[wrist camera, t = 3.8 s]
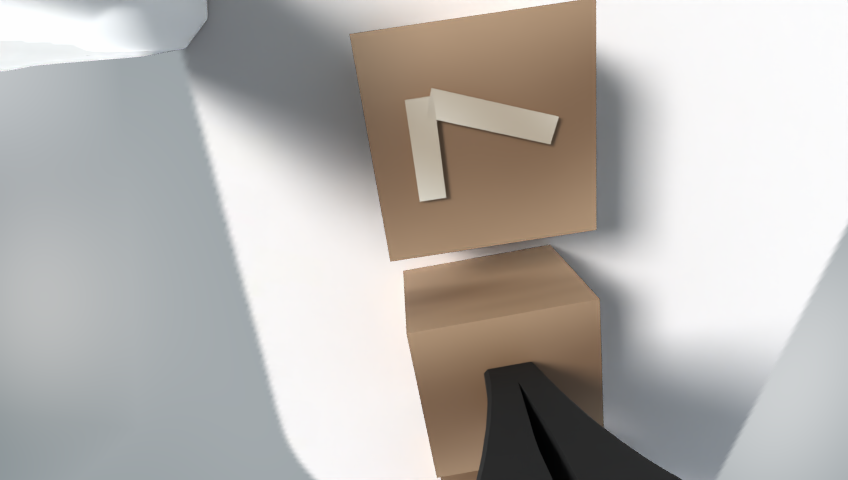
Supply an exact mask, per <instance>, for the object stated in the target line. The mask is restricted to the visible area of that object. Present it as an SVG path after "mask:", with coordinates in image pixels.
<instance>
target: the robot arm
mask: <svg viewBox="0 0 848 480" xmlns="http://www.w3.org/2000/svg"><path fill="white" fill-rule="evenodd" d="M484 379H485V386H486V393H487V419H486V430H485V437H484V444H483V451H482V456H481V461H480V466H479V471H478V475H477V479H476V480H682V479H680V478H678V477H677V476H675V475H673V474H671V473H670V472H668V471H666V470H664V469H663V468H661V467H659V466H658V465H656V464H654V463H653V462H651V461H650V460H648V459H647V458H645V457H643V456H642V455H641V454H639V453H638V452H636V451H635V450H633V449H632V448H630V447H629V446H627V445H626V444H625V443H623V442H622V441H620V440H619V439H618V438H616V437H615V436H614V435H612V434H611V433H610V432H609V431H607V430H606V429H605V428H603V427H602V426H601V425H600V424H598V423H597V422H596V421H595V420H593V419H592V418H591V417H590V416H589V415H587V414H586V413H585V412H584V411H583V410H582V409H581V408H579V407H578V406H577V405H576V404H575V403H574V402H573V401H572V400H570V399H569V398H568V397H567V396H566V395H565V394H564V393H563V392H562V391H561V390H560V389H559V388H558V387H557V386H556V385H555V384H554V383H553V382H552V381H551V380H550V379H549V378H548V377H547V376H546V375H545V374H544V373H543V372H542V371H541V370H540V369H539V368H538V367H537V366H536V365H535V364H534V363H533V362H526V363H521V364H515V365H509V366H504V367H498V368H492V369H487V370H486V372H485V373H484Z"/></svg>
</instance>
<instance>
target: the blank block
mask: <svg viewBox="0 0 848 480" xmlns="http://www.w3.org/2000/svg"><path fill="white" fill-rule="evenodd" d="M403 274H404V293H405V312H406V330H407V338H408V342H409V347H410V352H411V357H412V361H413V366H414V371H415V376H416V380H417V385H418V390H419V395H420V399H421V404H422V409H423V414H424V418H425V423H426V428H427V433H428V437H429V442H430V447H431V452H432V456H433V461H434V466H435V471H436V475H437V478H438V477H444V476H450V475H455V474H461V473H466V472H472V471H477V470H479V466H480V461H481V456H482V451H483V444H484V437H485V430H486V419H487V393H486V386H485V379H484V373H485V372H486V370H487V369H492V368H498V367H504V366H509V365H515V364H521V363H526V362H533V363H534V364H535V365H536V366H537V367H538V368H539V369H540V370H541V371H542V372H543V373H544V374H545V375H546V376H547V377H548V378H549V379H550V380H551V381H552V382H553V383H554V384H555V385H556V386H557V387H558V388H559V389H560V390H561V391H562V392H563V393H564V394H565V395H566V396H567V397H568V398H569V399H570V400H572V401H573V402H574V403H575V404H576V405H577V406H578V407H579V408H581V409H582V410H583V411H584V412H585V413H586V414H587V415H589V416H590V417H591V418H592V419H593V420H595V421H596V422H597V423H598V424H600V425H601V426H602V427H603V428H604V425H603V392H602V358H601V325H600V299H599V298H598V297H597V296H596V294H595V293H594V292H593V291H592V290H591V289H590V288H589V287H588V286H587V285H586V283H585V282H584V281H583V280H582V279H581V278H580V277H579V276H578V275H577V274H576V272H575V271H574V270H573V269H572V268H571V267H570V266H569V265H568V264H567V263H566V261H565V260H564V259H563V258H562V257H561V256H560V255H559V254H558V253H557V252H556V251H555V249H554V248H553V247H552V246H551V245H546V246H540V247H534V248H529V249H523V250H518V251H512V252H506V253H501V254H495V255H490V256H484V257H478V258H473V259H467V260H462V261H456V262H450V263H445V264H439V265H434V266H428V267H423V268H417V269H411V270H406V271H403Z"/></svg>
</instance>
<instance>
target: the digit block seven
mask: <svg viewBox="0 0 848 480" xmlns="http://www.w3.org/2000/svg"><path fill="white" fill-rule="evenodd" d="M350 40H351V45H352V51H353V56H354V62H355V68H356V73H357V79H358V84H359V90H360V95H361V101H362V106H363V112H364V117H365V123H366V129H367V134H368V140H369V145H370V151H371V156H372V162H373V167H374V173H375V178H376V184H377V189H378V195H379V201H380V206H381V212H382V217H383V223H384V228H385V234H386V239H387V245H388V250H389V256H390V262H391V261H397V260H404V259H410V258H417V257H423V256H430V255H436V254H443V253H449V252H456V251H462V250H469V249H475V248H482V247H488V246H495V245H501V244H508V243H514V242H521V241H527V240H534V239H540V238H547V237H553V236H560V235H566V234H573V233H579V232H586V231H592V230H596V0H577V1H570V2H563V3H557V4H550V5H543V6H536V7H529V8H523V9H516V10H509V11H502V12H495V13H489V14H482V15H475V16H468V17H462V18H455V19H448V20H441V21H434V22H428V23H421V24H414V25H407V26H401V27H394V28H387V29H380V30H373V31H367V32H360V33H353V34H350Z"/></svg>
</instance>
